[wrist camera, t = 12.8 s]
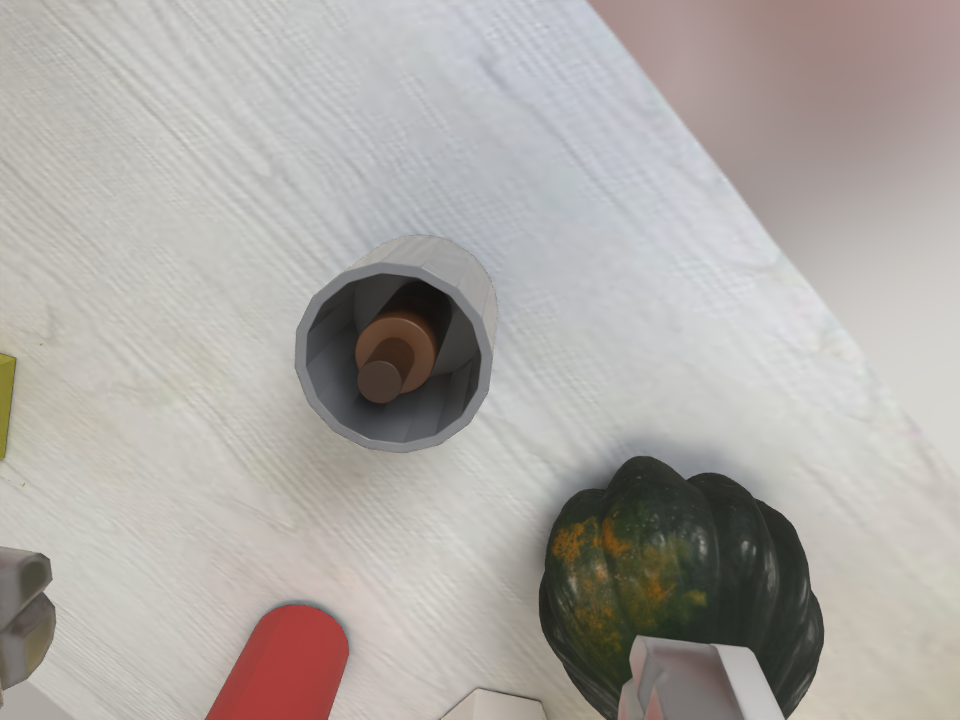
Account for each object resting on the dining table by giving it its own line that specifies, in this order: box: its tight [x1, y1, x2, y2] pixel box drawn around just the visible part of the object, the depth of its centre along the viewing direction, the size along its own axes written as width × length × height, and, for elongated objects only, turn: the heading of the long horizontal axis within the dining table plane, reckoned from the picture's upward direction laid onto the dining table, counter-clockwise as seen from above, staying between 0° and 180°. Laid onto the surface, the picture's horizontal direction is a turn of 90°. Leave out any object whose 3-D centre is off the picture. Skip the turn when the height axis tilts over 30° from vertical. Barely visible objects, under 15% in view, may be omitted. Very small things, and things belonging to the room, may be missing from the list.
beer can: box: [205, 605, 349, 720], centre depth 41 cm, size 7×7×12 cm
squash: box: [539, 456, 824, 720], centre depth 37 cm, size 14×15×15 cm
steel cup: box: [295, 235, 498, 453], centre depth 34 cm, size 9×9×10 cm
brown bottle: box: [355, 282, 452, 403], centre depth 33 cm, size 4×4×12 cm
